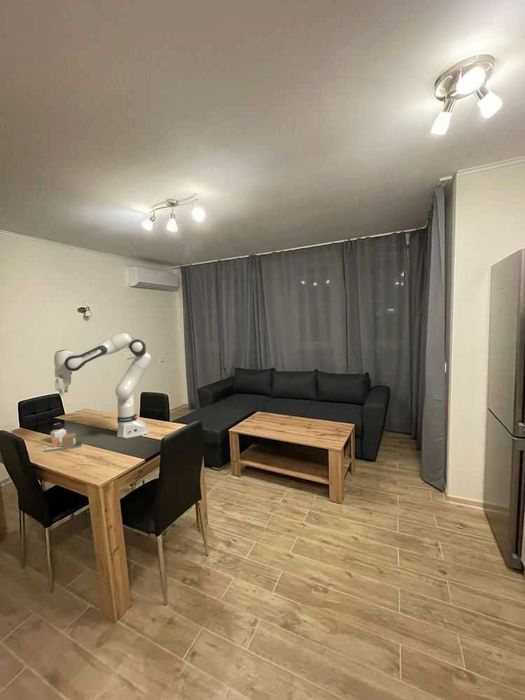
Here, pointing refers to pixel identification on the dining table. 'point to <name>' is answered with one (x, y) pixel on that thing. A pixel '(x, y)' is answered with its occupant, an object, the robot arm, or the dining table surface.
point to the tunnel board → (66, 443)
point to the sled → (57, 443)
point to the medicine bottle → (58, 431)
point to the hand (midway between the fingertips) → (63, 393)
